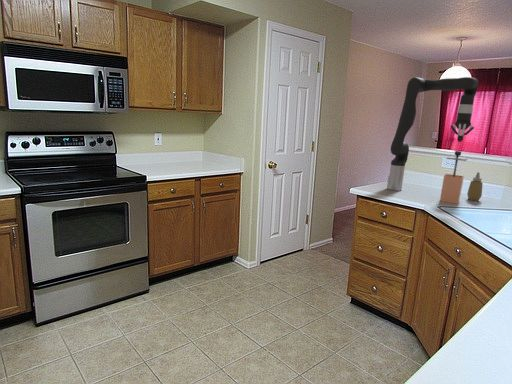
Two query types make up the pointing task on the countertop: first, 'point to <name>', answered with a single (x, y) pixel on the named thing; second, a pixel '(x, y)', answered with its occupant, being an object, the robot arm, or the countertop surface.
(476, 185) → the squeeze bottle
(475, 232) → the countertop surface
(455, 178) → the open tunnel frame
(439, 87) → the robot arm
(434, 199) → the countertop surface
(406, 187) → the countertop surface
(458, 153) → the drawer with knob
